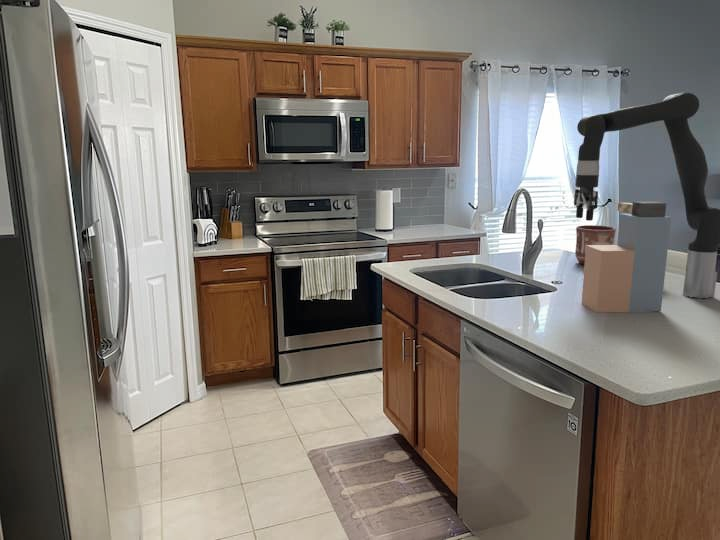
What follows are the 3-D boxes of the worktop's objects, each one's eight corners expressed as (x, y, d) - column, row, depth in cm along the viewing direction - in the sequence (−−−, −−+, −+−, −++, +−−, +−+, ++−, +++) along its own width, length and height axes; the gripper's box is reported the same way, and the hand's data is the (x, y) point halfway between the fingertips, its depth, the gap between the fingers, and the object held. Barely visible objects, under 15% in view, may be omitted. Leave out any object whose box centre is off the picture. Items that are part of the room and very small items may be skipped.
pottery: (565, 262, 271) (567, 226, 267) (591, 259, 278) (594, 224, 274) (593, 269, 255) (597, 231, 251) (620, 266, 262) (624, 228, 258)
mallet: (610, 210, 200) (611, 198, 199) (632, 210, 201) (633, 198, 200) (640, 217, 180) (642, 203, 179) (664, 216, 180) (666, 203, 179)
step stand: (642, 302, 197) (651, 213, 191) (660, 311, 186) (671, 217, 179) (581, 303, 197) (588, 213, 190) (596, 312, 185) (604, 217, 179)
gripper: (607, 174, 188) (603, 221, 192) (589, 173, 202) (586, 216, 206) (585, 174, 188) (582, 221, 192) (569, 173, 202) (566, 217, 206)
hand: (584, 219), depth 199 cm, fingers open, 8 cm apart
